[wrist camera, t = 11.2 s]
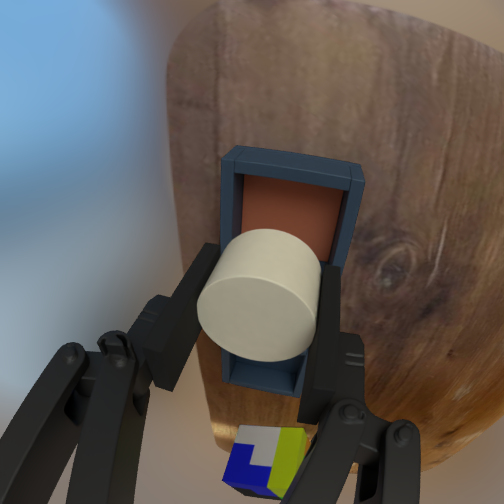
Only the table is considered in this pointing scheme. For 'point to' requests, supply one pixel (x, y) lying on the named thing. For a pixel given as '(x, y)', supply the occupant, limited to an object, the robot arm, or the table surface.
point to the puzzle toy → (265, 460)
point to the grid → (286, 230)
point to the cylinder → (262, 296)
